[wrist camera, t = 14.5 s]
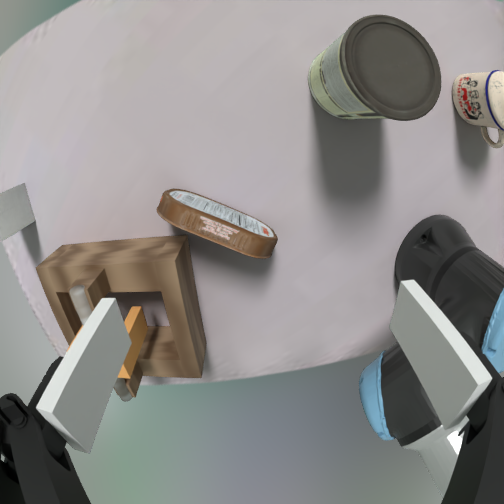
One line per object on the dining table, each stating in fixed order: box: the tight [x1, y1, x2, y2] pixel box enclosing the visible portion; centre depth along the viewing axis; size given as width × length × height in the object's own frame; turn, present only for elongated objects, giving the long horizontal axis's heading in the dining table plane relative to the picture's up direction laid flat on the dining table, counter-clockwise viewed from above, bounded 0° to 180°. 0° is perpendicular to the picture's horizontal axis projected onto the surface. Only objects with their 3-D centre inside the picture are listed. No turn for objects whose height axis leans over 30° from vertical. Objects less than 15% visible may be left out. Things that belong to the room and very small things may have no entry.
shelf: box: [36, 235, 206, 401], centre depth 37 cm, size 22×20×14 cm
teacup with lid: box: [452, 70, 504, 148], centre depth 25 cm, size 12×9×12 cm
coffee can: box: [308, 15, 441, 121], centre depth 24 cm, size 10×10×14 cm
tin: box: [157, 189, 278, 259], centre depth 34 cm, size 15×3×8 cm, turn 66°
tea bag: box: [0, 183, 36, 242], centre depth 31 cm, size 4×7×10 cm, turn 9°
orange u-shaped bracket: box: [67, 306, 148, 379], centre depth 34 cm, size 8×4×10 cm, turn 93°
